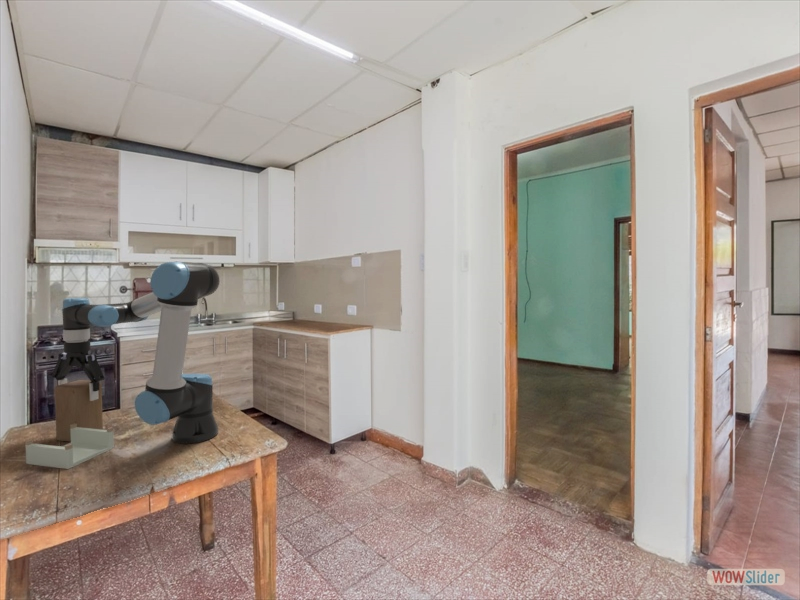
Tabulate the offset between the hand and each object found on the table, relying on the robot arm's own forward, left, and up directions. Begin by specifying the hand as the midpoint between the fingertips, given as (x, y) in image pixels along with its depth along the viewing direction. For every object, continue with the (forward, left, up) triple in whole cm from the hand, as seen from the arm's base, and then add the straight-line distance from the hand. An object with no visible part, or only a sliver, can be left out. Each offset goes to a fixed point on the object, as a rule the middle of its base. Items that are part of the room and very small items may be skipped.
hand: (78, 398), depth 145 cm
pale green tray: (-12, +13, -14) cm, 23 cm away
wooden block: (0, 0, -15) cm, 15 cm away
